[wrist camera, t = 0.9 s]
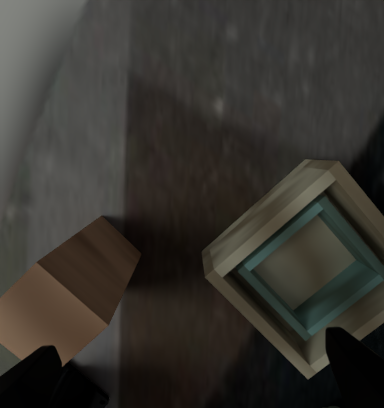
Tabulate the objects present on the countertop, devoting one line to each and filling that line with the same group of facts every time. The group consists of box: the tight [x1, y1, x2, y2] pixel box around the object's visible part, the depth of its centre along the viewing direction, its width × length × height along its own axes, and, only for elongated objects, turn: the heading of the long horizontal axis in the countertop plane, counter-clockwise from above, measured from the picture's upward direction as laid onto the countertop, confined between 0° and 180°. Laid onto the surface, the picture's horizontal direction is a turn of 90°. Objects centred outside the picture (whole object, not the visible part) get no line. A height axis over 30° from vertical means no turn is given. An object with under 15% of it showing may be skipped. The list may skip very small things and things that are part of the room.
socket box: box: [201, 159, 384, 379], centre depth 19 cm, size 11×11×4 cm
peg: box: [0, 216, 141, 367], centre depth 17 cm, size 4×4×9 cm
